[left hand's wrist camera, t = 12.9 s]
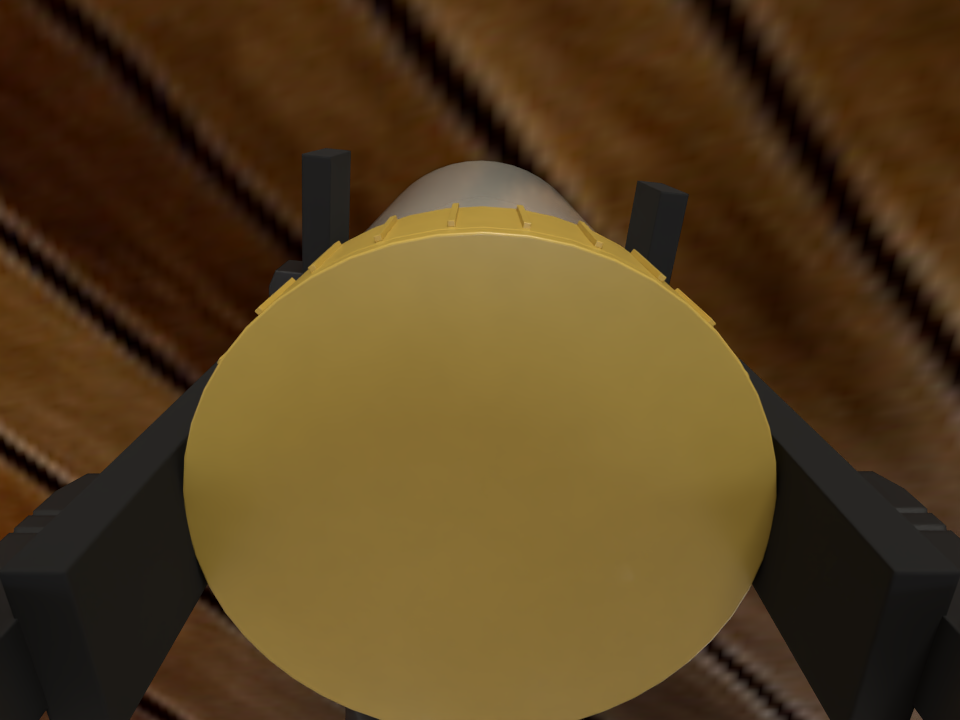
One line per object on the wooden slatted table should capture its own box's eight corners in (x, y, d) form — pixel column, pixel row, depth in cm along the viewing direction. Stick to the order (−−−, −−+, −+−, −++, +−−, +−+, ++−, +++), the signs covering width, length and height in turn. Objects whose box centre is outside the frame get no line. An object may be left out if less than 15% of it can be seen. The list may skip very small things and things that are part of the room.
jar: (324, 253, 25) (96, 462, 10) (504, 110, 23) (548, 111, 8) (459, 412, 28) (435, 767, 13) (631, 296, 26) (840, 554, 11)
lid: (130, 407, 12) (48, 476, 10) (539, 78, 10) (557, 69, 8) (439, 698, 15) (432, 805, 12) (810, 492, 13) (882, 574, 10)
